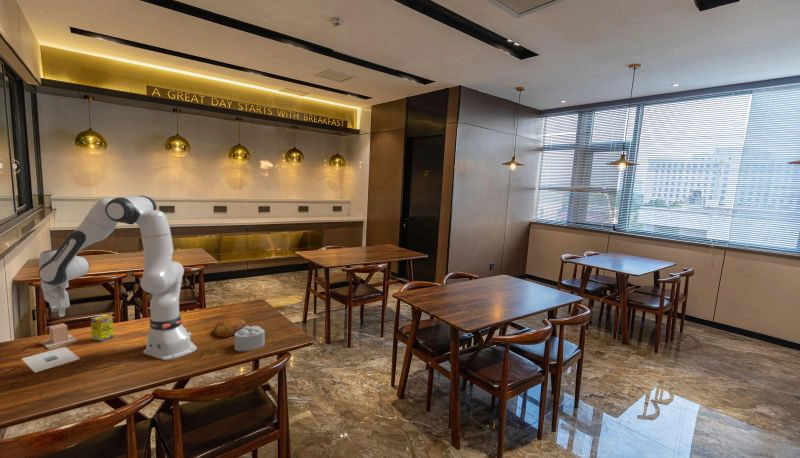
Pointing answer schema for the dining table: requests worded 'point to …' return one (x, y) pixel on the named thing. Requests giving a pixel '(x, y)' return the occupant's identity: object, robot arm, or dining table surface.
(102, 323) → the supplement box
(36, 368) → the mat
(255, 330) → the lumpy-topped squat cylinder
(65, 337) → the terracotta block
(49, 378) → the dining table surface
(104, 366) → the dining table surface
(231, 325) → the croissant
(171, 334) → the robot arm
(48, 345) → the coaster
